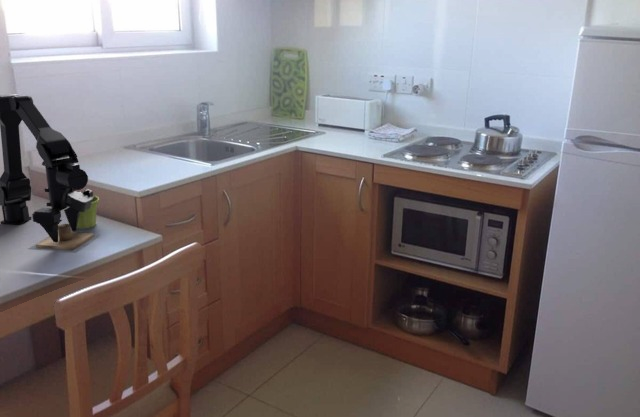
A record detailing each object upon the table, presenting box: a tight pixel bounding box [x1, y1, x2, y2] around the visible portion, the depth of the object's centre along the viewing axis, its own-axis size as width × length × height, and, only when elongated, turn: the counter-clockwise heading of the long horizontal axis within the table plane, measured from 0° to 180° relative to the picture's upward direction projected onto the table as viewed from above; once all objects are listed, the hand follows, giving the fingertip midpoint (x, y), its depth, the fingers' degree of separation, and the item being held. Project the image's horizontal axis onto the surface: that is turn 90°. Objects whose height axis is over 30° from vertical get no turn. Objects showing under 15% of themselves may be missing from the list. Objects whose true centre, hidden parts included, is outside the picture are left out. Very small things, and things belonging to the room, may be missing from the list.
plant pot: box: [77, 195, 100, 230], centre depth 176 cm, size 9×9×9 cm
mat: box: [27, 233, 102, 254], centre depth 164 cm, size 14×14×1 cm
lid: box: [36, 223, 94, 250], centre depth 163 cm, size 11×11×5 cm
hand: (65, 236), depth 163 cm, fingers open, 9 cm apart
